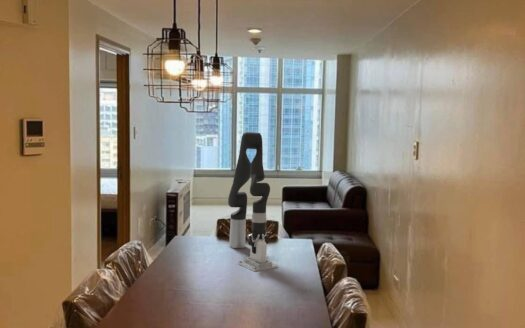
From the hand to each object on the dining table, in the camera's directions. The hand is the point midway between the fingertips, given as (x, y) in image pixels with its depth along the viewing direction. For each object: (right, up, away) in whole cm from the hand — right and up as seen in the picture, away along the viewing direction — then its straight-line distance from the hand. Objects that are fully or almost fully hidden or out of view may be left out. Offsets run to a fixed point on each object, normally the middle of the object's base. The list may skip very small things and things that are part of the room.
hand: (258, 252), depth 261 cm
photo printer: (0, -5, 0) cm, 5 cm away
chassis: (0, -7, 0) cm, 7 cm away
